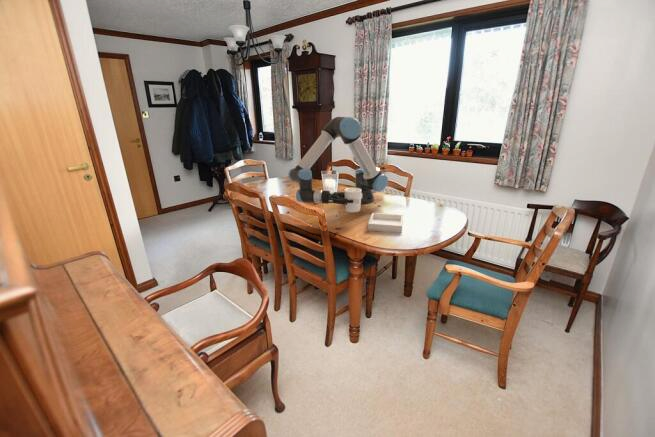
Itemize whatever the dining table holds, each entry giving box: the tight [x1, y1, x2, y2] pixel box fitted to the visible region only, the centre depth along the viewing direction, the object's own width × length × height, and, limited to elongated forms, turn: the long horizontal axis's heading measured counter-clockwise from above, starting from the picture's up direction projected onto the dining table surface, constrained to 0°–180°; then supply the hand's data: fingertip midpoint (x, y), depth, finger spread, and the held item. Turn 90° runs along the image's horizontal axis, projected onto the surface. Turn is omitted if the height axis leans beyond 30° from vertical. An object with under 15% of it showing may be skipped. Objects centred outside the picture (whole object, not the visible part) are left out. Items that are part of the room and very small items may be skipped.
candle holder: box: [343, 187, 362, 213], centre depth 175 cm, size 10×10×12 cm
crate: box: [367, 212, 404, 234], centre depth 175 cm, size 18×18×4 cm
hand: (360, 198), depth 174 cm, fingers closed on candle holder, 9 cm apart
